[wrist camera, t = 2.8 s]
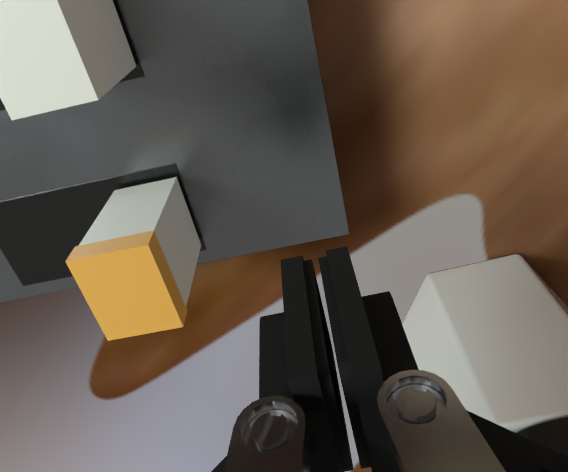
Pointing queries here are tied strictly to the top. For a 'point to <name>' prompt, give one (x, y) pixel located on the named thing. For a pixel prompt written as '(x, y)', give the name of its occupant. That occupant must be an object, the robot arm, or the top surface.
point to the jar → (497, 345)
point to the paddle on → (138, 260)
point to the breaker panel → (180, 140)
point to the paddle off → (59, 54)
